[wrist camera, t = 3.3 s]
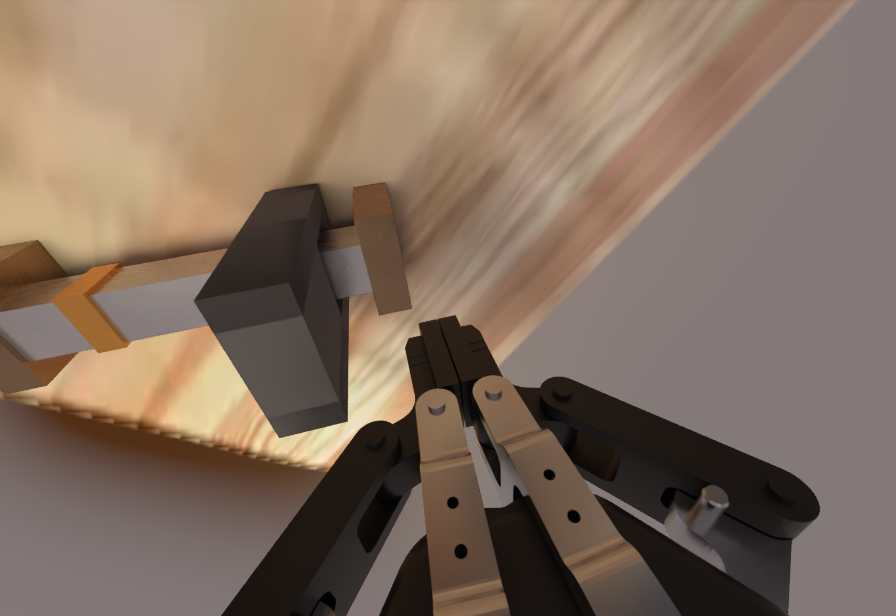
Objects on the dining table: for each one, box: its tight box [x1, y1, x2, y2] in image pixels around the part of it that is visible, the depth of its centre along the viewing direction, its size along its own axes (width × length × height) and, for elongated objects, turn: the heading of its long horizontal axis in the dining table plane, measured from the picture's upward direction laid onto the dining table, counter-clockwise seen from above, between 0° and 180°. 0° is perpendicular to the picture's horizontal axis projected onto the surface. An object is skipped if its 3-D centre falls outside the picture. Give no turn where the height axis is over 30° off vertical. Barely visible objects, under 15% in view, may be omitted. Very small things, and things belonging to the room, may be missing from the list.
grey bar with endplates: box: [0, 182, 412, 394], centre depth 21 cm, size 22×6×6 cm, turn 96°
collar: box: [194, 184, 349, 438], centre depth 19 cm, size 3×7×12 cm, turn 6°
